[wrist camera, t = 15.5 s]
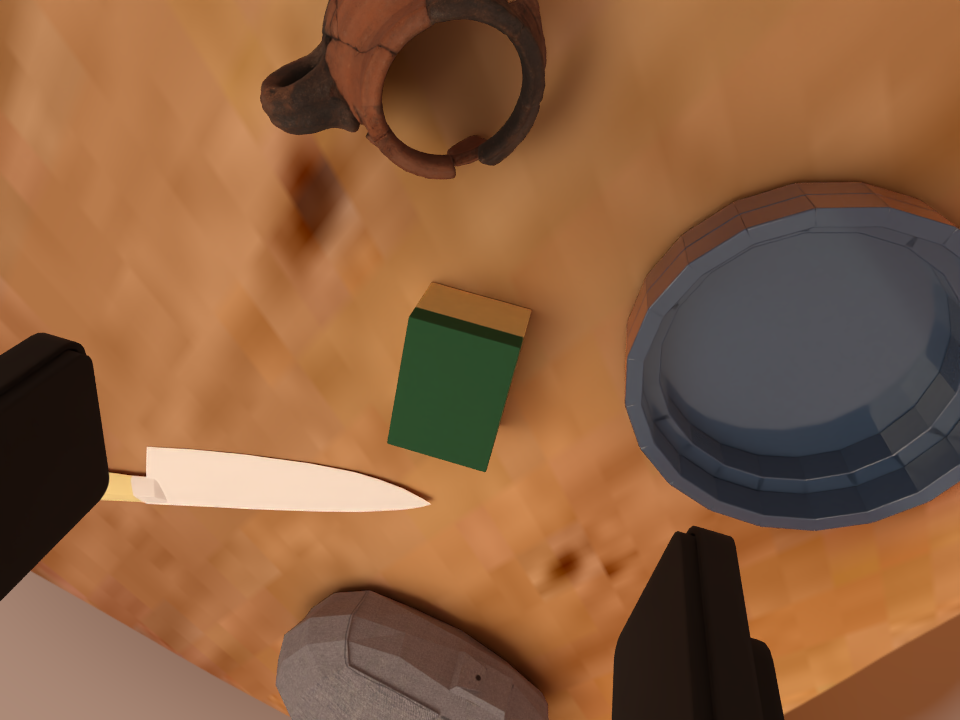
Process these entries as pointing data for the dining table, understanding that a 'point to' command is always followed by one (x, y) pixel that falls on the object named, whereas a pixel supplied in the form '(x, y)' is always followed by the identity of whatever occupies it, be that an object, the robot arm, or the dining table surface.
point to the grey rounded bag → (395, 667)
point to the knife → (254, 484)
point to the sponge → (456, 375)
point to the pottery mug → (364, 64)
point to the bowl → (803, 357)
